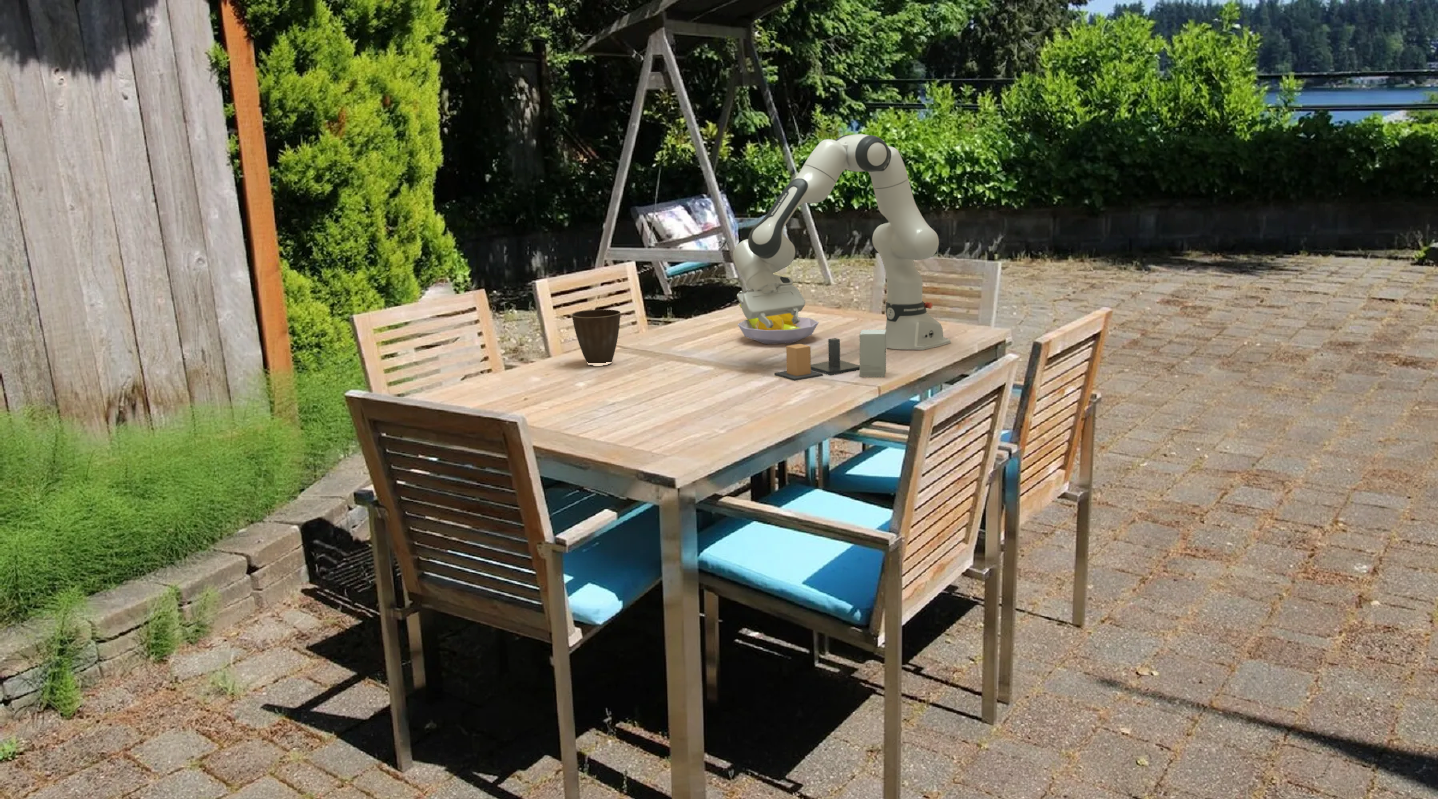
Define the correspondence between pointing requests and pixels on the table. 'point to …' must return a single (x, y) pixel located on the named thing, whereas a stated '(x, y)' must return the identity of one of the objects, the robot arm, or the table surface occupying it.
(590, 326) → the plant pot
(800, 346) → the tan rectangular pillar
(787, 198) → the robot arm
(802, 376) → the mat
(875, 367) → the supplement box
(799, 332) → the fruit bowl
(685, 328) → the table surface
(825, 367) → the post stand
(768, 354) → the table surface
